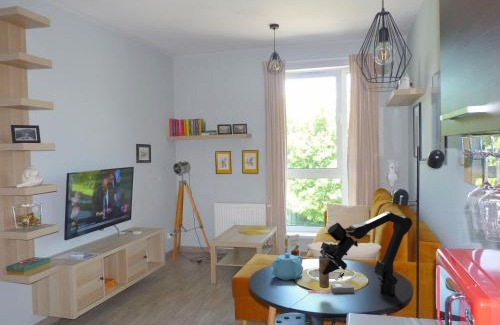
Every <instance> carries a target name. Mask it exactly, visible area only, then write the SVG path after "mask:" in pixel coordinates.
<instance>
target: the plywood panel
mask: <svg viewBox="0 0 500 325" xmlns="http://www.w3.org/2000/svg"><path fill="white" fill-rule="evenodd" d="M306 291H307V293H308V294H326V293H327V294H328V293H330V294H331V293H332V294H334V293H333V291H332V290H331V289H315V290H314V289H313V290H310V289H309V290H306Z"/></svg>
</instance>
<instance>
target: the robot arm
mask: <svg viewBox="0 0 500 325" xmlns="http://www.w3.org/2000/svg"><path fill="white" fill-rule="evenodd" d="M388 222H391V223H392V230H393V231H392V232H393V233H392V235H391V238H390V241H388V242H389V243H388V245H387V248H386V250H385V253H384V255H383V258H382V259H381V261H379V260H377V261H376V265H375V266H374V268H373V269H374V274H375V275H376V277H377V279H378V280H379V284H378V292H379V293H380V294H386V295H388V296H389V297H397V294H396V285H397V283H398V281H399V280H398V278H396V277H395V276H394V272H395V271H394V262H395V260H396V256H397V253H398V251H399V249H400V246H401V244H402V241H403V239H404V236H405V235H406V234H407V233H409V231H410V230H411V228H412V226H413V221H412V219H411V218H410V217H407V216H403V215H398V214H395V213H394V212H391V211H388V210H386V211H384V212H383V213H381V214H378V215H376V216H375V217H372V218H371V219H368V220H366V221H364V222H359V223H358V222H357V223H354V224H351V225H349V226H348V227H346V228H344V227H343V226H342V224H340V223H339V222H336V223H335V224H332V225H331V226H329V227H328V228H327V233H328V235H330V237H332V238H333V240H335V242H337V244H336V243H334V244H333V243H327V242H324V241H322V244H321V247H320V249H321V250H320V251H319V253H320V254H321V256H322V255H323V250H325V256H328V257H329V264H328V266H327V267H326V269H325V270H324V272H323V275H326V274H328V273H330V272H333V271H335V270H338V271H339V270H342V271H345V270H346V269H348V264H347V263H346V262H345V261H344V260H343V258H344V257H346V256H348V255H349V254H348V252H349V250H350V249H351V248H352V247H353V246H354V247H359V245H358V240H360V239H363V238H364V237H365V236H367V235H368V233H369V232H370V231H372V230H374V229H376V228H378V227H380V226H382V225H384V224H387V223H388ZM353 238H354V239H353ZM356 239H357V240H356ZM338 241H339V242H338Z"/></svg>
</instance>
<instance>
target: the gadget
mask: <svg viewBox="0 0 500 325" xmlns="http://www.w3.org/2000/svg"><path fill="white" fill-rule="evenodd" d="M340 271H341V270H338V271H333V272H330V273H329V279H335V280H337V279H338V278H339V277H341V276H342V274H341V273H342V272H340ZM310 276H313V277H319V268H315V269H314V270H313V272H312V273H311V275H310ZM309 279H310V277H309ZM339 279H340V278H339ZM339 279H338V280H339ZM338 280H337V281H338Z"/></svg>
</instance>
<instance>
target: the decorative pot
mask: <svg viewBox="0 0 500 325" xmlns="http://www.w3.org/2000/svg"><path fill="white" fill-rule="evenodd" d="M298 258H300V261H299V259H298ZM271 262H272V264H271V265H272V266H271V267H272V271H271V275H272V276H275V277H276V278H278V279H280V280H283V281H284V282H288V281H289V280H296V279H295V278H298V279H299V278H301V276H302V274H303V271H304V267H303V265H302V264H303V258H302V257H301V255H300V256H294V255H290V253H285V252H284V254H279V255H278V256H277V257H276V259H274V260H272V261H271Z"/></svg>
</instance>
